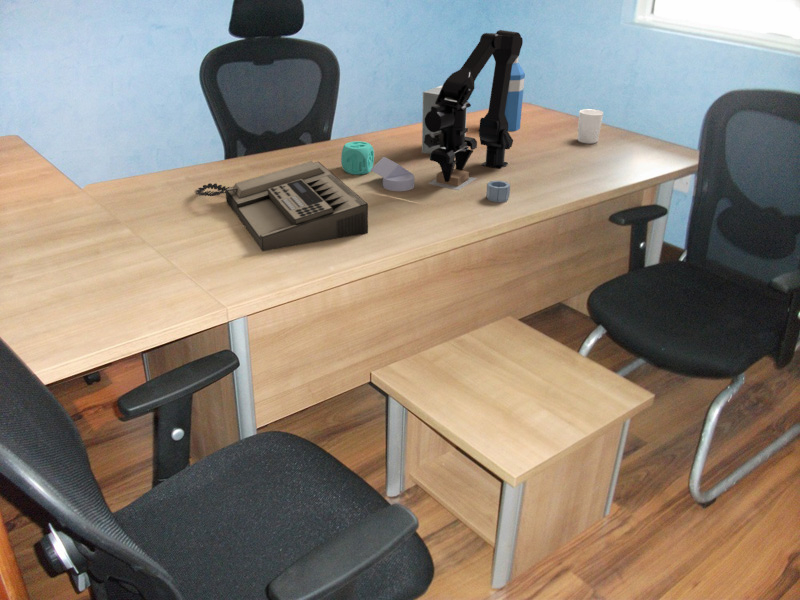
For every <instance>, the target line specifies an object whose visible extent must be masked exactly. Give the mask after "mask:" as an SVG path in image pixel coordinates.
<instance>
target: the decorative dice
mask: <svg viewBox="0 0 800 600" xmlns="http://www.w3.org/2000/svg"><path fill="white" fill-rule="evenodd" d="M342 147H343V148H342V150H341V157H340V158H341V159H340V160H341V161H340V162H341V168H342V169H343V170H344V172H345V173H346V174H348V175H352V176H353V175H355V176H356V175H357V176H359V175H360V176H361V175H367V174H369V173H371V172H372V171H371V169H372V168H373V167H374V162H375V150H374V146H373V145H371V143H369V142H367V141H361V140H357V141H355V140H353V141H349V142H347V143H344V145H343V146H342Z"/></svg>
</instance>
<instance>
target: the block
mask: <svg viewBox="0 0 800 600" xmlns="http://www.w3.org/2000/svg"><path fill="white" fill-rule="evenodd" d="M469 175H470V171H467V170H457V169H456V168H454V169H453V172H452V175H451V178H450V180H449V182H445V180H444V176H443V173H442V170H441V171H440V172H438V173H436V178H435V179H436V182H438V183H443V184H448V185H453V186H457V187H458V186H460V185H461V184H463V183H464V182H466V181H467V180H469V177H470V176H469Z"/></svg>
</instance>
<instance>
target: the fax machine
mask: <svg viewBox="0 0 800 600" xmlns="http://www.w3.org/2000/svg"><path fill="white" fill-rule="evenodd" d="M208 189H211V190H208ZM213 189H214V190H217V191H212V190H213ZM205 190H207V191H205ZM194 193H195V195H199V196H205V197H206V196H207V197H215V196H219V195H221V194H225V200H226V203H227V204H228V205H230V206H229V207H230V209H231V210H232V211H233V212H234V214H235V215H236V216H237V218H238V219H239V221H240V222H241V224H242V225H243V227H246V228H245V229H246V230H247V231H248V233H249V234H250V236H251V237H252V238H254V239H253V240H254V241H255V243H256V242H257V243H256V244H257V245H258V247H259V248H260V250H261V251H262V252H266V251H271V250H272V249H273V250H278V249H283V248H284V247H285V248H291V247H295V245H296V246H302V245H307V244H313V243H318V242H325V241H330V240H337V239H343V238H348V237H349V238H350V237H353V236H358V235H367V234H369V216H368V215H369V211H368V210H369V208H368V207H369V205H368V203H367V202H366V201H365V200H364V199H363V198H362V197H360V196H359V195H358V194H357V192H355V191H354V190H352V189H351V188H350V187H349V186H348V185H347V184H345V183H344V181H342V180H341V179H339V177H337V176H336V175H334V173H333V172H331V171H330V170H329V169H328V168H327V167H325V165H324V164H322V163H321V162H320V161H316V162H313V161H312V160H311V161H307V162H303V163H301V164H297V165H294V166H290V167H286V168H284V169H280V170H275V171H272V172H270V173H269V172H268V173H266V174H263V175H259V176H256V177H253V178H248V179H246V180H243V181H238V182H235V184H234V185H233V186H225V185H222V184H219V185H218V183H217V182H215V183H213V184H212V183H211V182H209V183H208V184H203V185H202V187H198V188H197V189H196V190H195V191H194Z"/></svg>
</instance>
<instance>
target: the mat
mask: <svg viewBox="0 0 800 600" xmlns="http://www.w3.org/2000/svg"><path fill="white" fill-rule="evenodd" d="M476 179H478V178H477V177H472V176H469V180H467V181H466V182H464V183H463V184H461V185H460V186H458V187H457V186H453V185H448V184H443V183H438V182H436V178H434V179H432V181H429V182H427V185H432V186H437V187H441V188H446V189H451V190H455V191H460V190H461V189H463V188H465V187H466V186H468V185H470V184H471V183H472V182H474V181H476Z"/></svg>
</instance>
